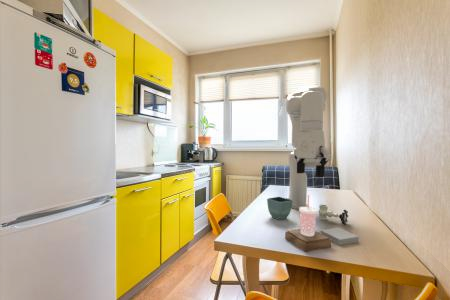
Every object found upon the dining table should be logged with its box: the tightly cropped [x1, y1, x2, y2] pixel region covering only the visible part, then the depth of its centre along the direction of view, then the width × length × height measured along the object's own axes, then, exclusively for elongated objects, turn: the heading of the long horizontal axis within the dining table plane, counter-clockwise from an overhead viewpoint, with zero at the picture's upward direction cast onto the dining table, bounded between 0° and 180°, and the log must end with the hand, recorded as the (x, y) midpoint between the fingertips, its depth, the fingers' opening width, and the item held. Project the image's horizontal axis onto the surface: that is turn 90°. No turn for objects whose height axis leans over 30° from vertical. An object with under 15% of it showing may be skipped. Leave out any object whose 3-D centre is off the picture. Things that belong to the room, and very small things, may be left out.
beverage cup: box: [298, 194, 318, 236], centre depth 79 cm, size 6×6×14 cm
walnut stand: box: [284, 228, 332, 253], centre depth 79 cm, size 11×11×3 cm
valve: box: [318, 204, 349, 225], centre depth 102 cm, size 7×7×12 cm
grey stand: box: [320, 227, 360, 246], centre depth 83 cm, size 9×9×2 cm
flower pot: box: [266, 196, 293, 221], centre depth 105 cm, size 9×9×9 cm
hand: (309, 174), depth 79 cm, fingers open, 9 cm apart
